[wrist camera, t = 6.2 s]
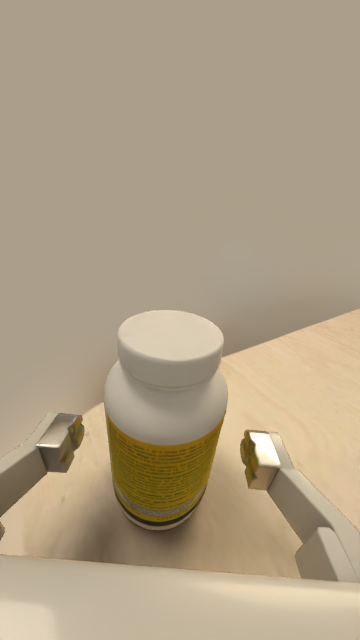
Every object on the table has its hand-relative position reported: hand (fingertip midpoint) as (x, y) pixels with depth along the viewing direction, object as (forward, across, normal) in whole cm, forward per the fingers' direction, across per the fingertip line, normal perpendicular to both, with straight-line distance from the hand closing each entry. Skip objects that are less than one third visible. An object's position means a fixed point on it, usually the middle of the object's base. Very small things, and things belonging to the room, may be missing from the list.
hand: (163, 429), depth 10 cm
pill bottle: (+1, 0, +6) cm, 6 cm away
